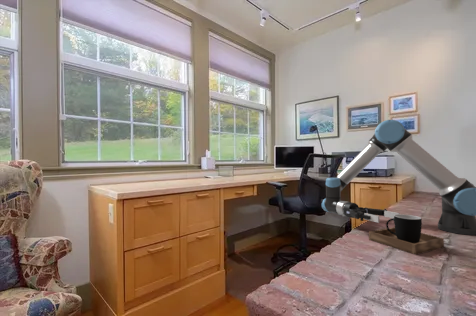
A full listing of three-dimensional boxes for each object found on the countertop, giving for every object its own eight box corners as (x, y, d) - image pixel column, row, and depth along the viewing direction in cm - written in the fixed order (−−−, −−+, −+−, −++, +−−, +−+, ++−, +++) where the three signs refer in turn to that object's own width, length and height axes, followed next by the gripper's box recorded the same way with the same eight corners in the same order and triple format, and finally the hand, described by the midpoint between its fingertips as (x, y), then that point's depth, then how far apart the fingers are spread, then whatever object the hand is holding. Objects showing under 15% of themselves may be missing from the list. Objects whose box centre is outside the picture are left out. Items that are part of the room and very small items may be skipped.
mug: (424, 242, 92) (423, 216, 92) (419, 247, 86) (418, 220, 86) (389, 235, 101) (389, 212, 101) (383, 240, 95) (382, 215, 95)
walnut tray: (396, 234, 106) (396, 226, 106) (443, 247, 89) (443, 238, 89) (369, 239, 98) (368, 231, 99) (415, 254, 82) (415, 244, 82)
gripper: (364, 214, 124) (407, 223, 104) (329, 218, 114) (369, 230, 94) (364, 200, 124) (407, 206, 104) (329, 203, 114) (369, 211, 94)
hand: (389, 217), depth 99 cm, fingers open, 13 cm apart
